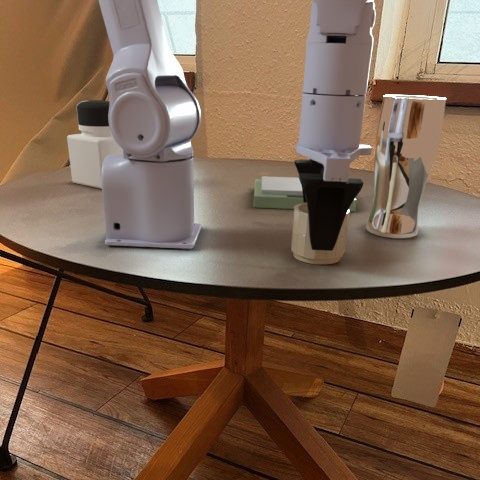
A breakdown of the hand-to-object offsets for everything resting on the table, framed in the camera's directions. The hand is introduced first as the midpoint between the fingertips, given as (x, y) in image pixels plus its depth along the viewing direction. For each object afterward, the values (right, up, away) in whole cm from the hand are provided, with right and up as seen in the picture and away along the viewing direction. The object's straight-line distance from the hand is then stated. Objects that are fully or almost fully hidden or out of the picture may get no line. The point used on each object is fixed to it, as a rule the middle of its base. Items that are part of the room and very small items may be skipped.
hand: (318, 238), depth 52 cm
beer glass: (+10, +2, +10) cm, 14 cm away
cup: (0, -2, +1) cm, 2 cm away
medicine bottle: (-30, +13, +28) cm, 43 cm away
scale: (+1, +9, +22) cm, 24 cm away
